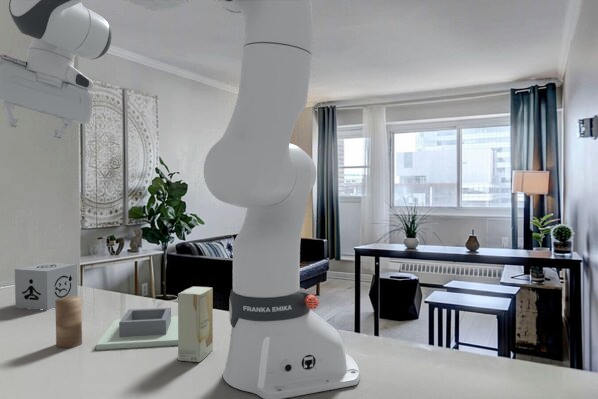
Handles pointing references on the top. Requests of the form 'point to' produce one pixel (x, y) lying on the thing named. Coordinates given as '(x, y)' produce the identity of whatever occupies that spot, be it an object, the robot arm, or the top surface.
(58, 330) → the brown dome-topped peg
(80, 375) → the top surface
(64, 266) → the icon cube
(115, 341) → the collar holder
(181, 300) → the skincare box
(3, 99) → the robot arm
